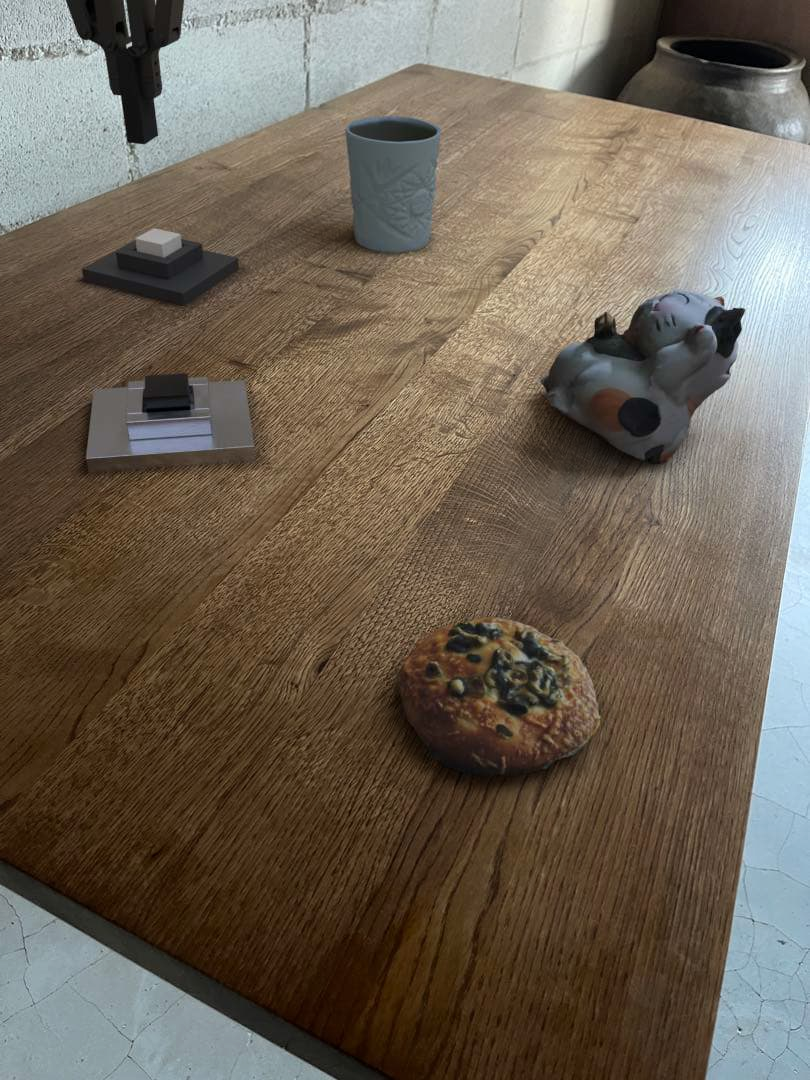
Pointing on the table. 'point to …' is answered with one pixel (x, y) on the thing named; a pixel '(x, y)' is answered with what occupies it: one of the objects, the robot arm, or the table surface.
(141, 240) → the back key
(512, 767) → the bread roll
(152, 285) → the back keypad
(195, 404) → the grey holder base
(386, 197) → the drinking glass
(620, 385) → the lucky cat figurine
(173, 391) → the front key
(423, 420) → the table surface
